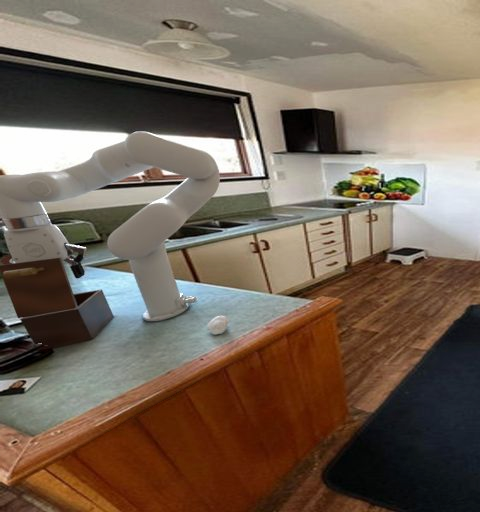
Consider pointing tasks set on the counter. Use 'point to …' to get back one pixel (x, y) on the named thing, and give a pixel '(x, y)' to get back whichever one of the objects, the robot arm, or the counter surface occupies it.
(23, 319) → the box
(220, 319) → the dumpling
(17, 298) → the lid
